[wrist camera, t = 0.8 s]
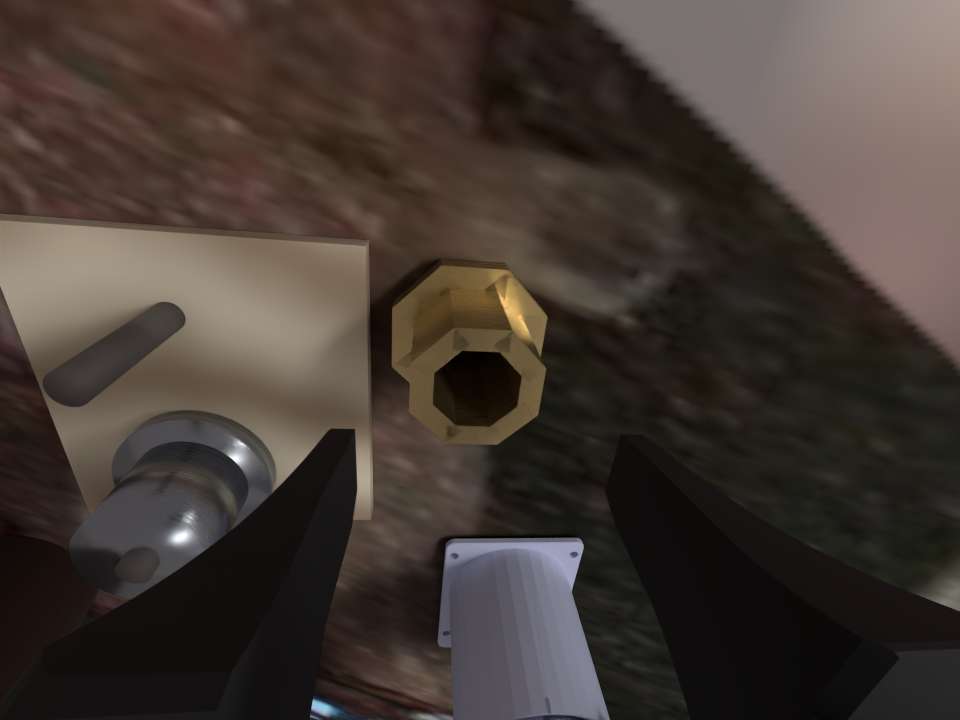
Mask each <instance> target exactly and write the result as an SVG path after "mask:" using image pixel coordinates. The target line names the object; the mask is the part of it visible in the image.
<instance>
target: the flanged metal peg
mask: <svg viewBox="0 0 960 720" xmlns="http://www.w3.org/2000/svg"><path fill="white" fill-rule="evenodd" d="M111 469H112V478H113V482H114V485H115V487H114V489H113V490H112V491H111V492H110V493H109V494H108V495H107V497H106V498H105V499H104V500H103V501H102V502H101V503H100V505H99V506H98V507H97V508H96V509H95V510H94V511H93V512H92V514H91V515H90V516H89V517H88V518H87V519H86V520H85V522H84V523H83V524H82V525H81V526H80V527H79V528H78V529H77V531H76V532H75V533H74V535H73V536H72V538H71V541H70V544H69V553H70V557H71V560H72V563H73V564H74V566H75V568H76V569H77V570H78V572H79V573H80V574H81V575H82V576H83V577H84V578H85V579H87V580H88V581H89V582H90V583H92V584H93V585H95V586H96V587H98V588H100V589H102V590H104V591H106V592H108V593H111V594H113V595H116V596H119V597H122V598H126V599H133V598H134V597H136V596H138V595H139V594H141V593H142V592H144V591H146V590H147V589H149V588H151V587H152V586H154V585H155V584H157V583H158V582H160V581H161V580H163V579H165V578H166V577H168V576H169V575H171V574H172V573H174V572H175V571H177V570H178V569H180V568H181V567H183V566H184V565H185V564H187V563H188V562H190V561H191V560H192V559H194V558H195V557H196V556H198V555H199V554H201V553H202V552H203V551H205V550H206V549H208V548H209V547H210V546H212V545H213V544H214V543H215V542H217V541H218V540H219V539H221V538H222V537H223V536H224V535H226V534H227V533H228V532H229V531H231V530H232V529H233V528H234V527H235V526H237V525H238V524H239V523H240V522H241V521H242V520H244V519H245V518H246V517H247V516H248V515H249V514H250V513H252V512H253V511H254V510H255V509H256V508H257V507H258V506H259V505H260V504H261V503H262V502H263V501H264V500H265V499H266V498H267V497H268V496H269V495H271V494H272V492H273V490H274V487H275V483H276V477H277V475H276V466H275V462H274V459H273V457H272V455H271V453H270V451H269V450H268V448H267V447H266V445H265V444H264V443H263V441H262V440H261V439H260V438H259V437H258V436H257V435H255V434H254V433H253V432H252V431H250V430H249V429H248V428H246V427H244V426H243V425H241V424H240V423H238V422H236V421H234V420H232V419H229V418H226V417H224V416H221V415H218V414H214V413H210V412H204V411H196V410H178V411H171V412H166V413H163V414H159V415H157V416H154V417H152V418H150V419H148V420H147V421H145V422H143V423H142V424H141V425H140V426H138V427H137V428H136V429H135V430H134V431H133V432H132V433H131V435H130V436H129V437H128V438H127V439H126V440H125V441H124V442H123V443H122V444H121V445H120V446H119V448H118V449H117V451H116V453H115V455H114V458H113V461H112V468H111ZM132 549H145V550H148V551H151V552H153V553H154V554H156V555H157V556H158V558H159V560H160V565H159V567H158V568H157V570H156V572H155V573H154V575H153V576H152V578H151V579H150V580H149V581H148V582H145V583H141V584H134V583H129V582H126V581H123V580H122V579H120V578H119V577H118V576H117V575H116V573H115V567H116V565H117V564H118V562H119V561H120V560H121V558H122V557H123V555H124V554H125V553H126V552H127V551H129V550H132Z"/></svg>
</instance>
